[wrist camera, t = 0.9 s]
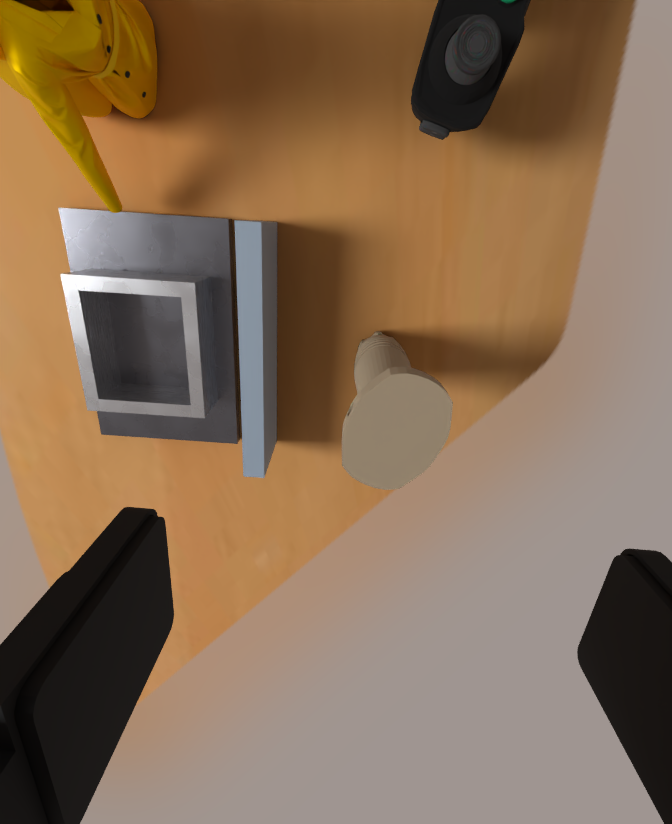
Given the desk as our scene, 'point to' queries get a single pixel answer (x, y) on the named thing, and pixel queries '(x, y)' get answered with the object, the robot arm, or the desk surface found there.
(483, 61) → the controller
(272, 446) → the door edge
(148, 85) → the figure statuette
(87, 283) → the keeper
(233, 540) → the desk surface
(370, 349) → the handle
